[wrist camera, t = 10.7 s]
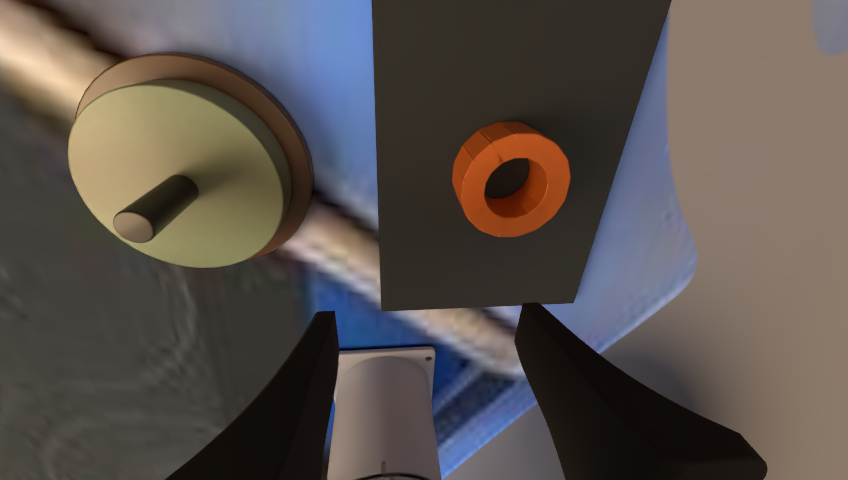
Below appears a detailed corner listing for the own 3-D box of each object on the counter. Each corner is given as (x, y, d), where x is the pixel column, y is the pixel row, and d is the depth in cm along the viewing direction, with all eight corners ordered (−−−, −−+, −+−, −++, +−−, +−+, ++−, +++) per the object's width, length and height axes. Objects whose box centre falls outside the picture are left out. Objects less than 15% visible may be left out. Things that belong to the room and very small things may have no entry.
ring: (538, 215, 22) (556, 236, 20) (449, 216, 21) (456, 238, 19) (559, 121, 19) (583, 134, 17) (456, 120, 18) (467, 132, 16)
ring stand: (323, 253, 22) (304, 328, 17) (134, 257, 21) (44, 341, 15) (299, 56, 17) (258, 70, 11) (40, 48, 16) (-155, 57, 10)
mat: (569, 298, 26) (573, 303, 26) (381, 306, 25) (381, 311, 24) (676, -39, 16) (685, -42, 16) (370, -61, 15) (369, -64, 14)
